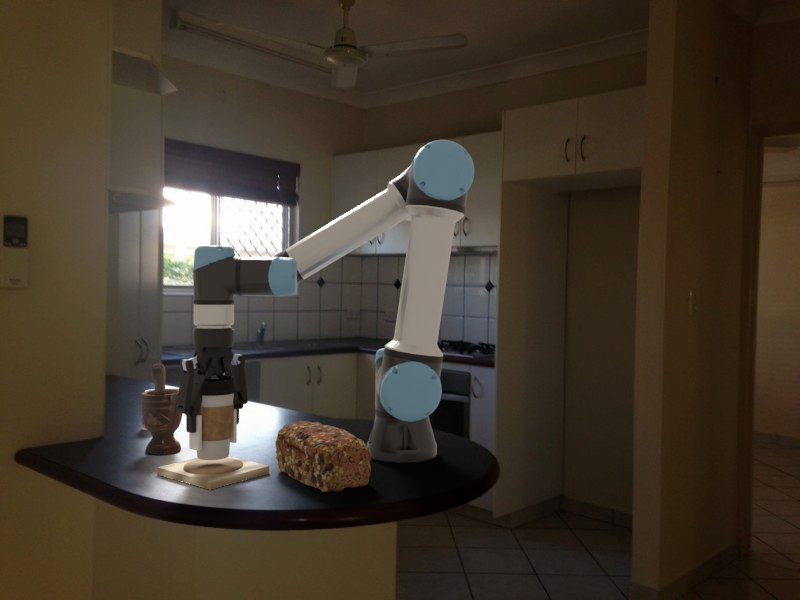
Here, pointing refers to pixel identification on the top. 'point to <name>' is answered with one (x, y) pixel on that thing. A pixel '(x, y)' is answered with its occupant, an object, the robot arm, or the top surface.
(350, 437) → the bread
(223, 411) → the coffee cup
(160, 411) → the mortar and pestle
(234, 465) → the board
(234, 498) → the top surface
